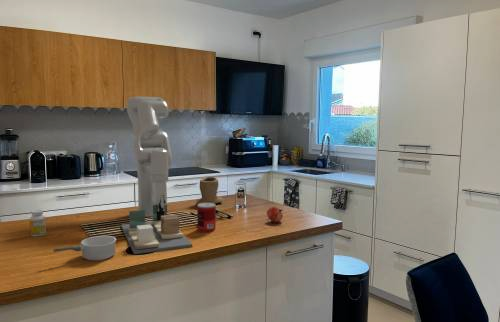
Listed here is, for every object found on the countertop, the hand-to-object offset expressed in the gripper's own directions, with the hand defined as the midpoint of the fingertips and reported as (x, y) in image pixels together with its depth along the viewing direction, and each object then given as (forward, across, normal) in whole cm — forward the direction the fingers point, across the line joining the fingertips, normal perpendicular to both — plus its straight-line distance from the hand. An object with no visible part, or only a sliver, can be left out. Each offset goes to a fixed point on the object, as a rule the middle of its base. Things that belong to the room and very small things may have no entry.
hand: (160, 218), depth 173 cm
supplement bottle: (+3, -5, -48) cm, 48 cm away
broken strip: (+2, +19, -11) cm, 22 cm away
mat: (+3, +14, -6) cm, 16 cm away
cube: (+1, +19, 0) cm, 19 cm away
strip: (+2, +11, 0) cm, 12 cm away
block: (+1, +26, -11) cm, 28 cm away
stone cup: (+4, -32, +35) cm, 48 cm away
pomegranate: (+3, +14, +50) cm, 52 cm away
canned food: (+3, +14, +17) cm, 22 cm away
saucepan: (+3, +31, -31) cm, 44 cm away
